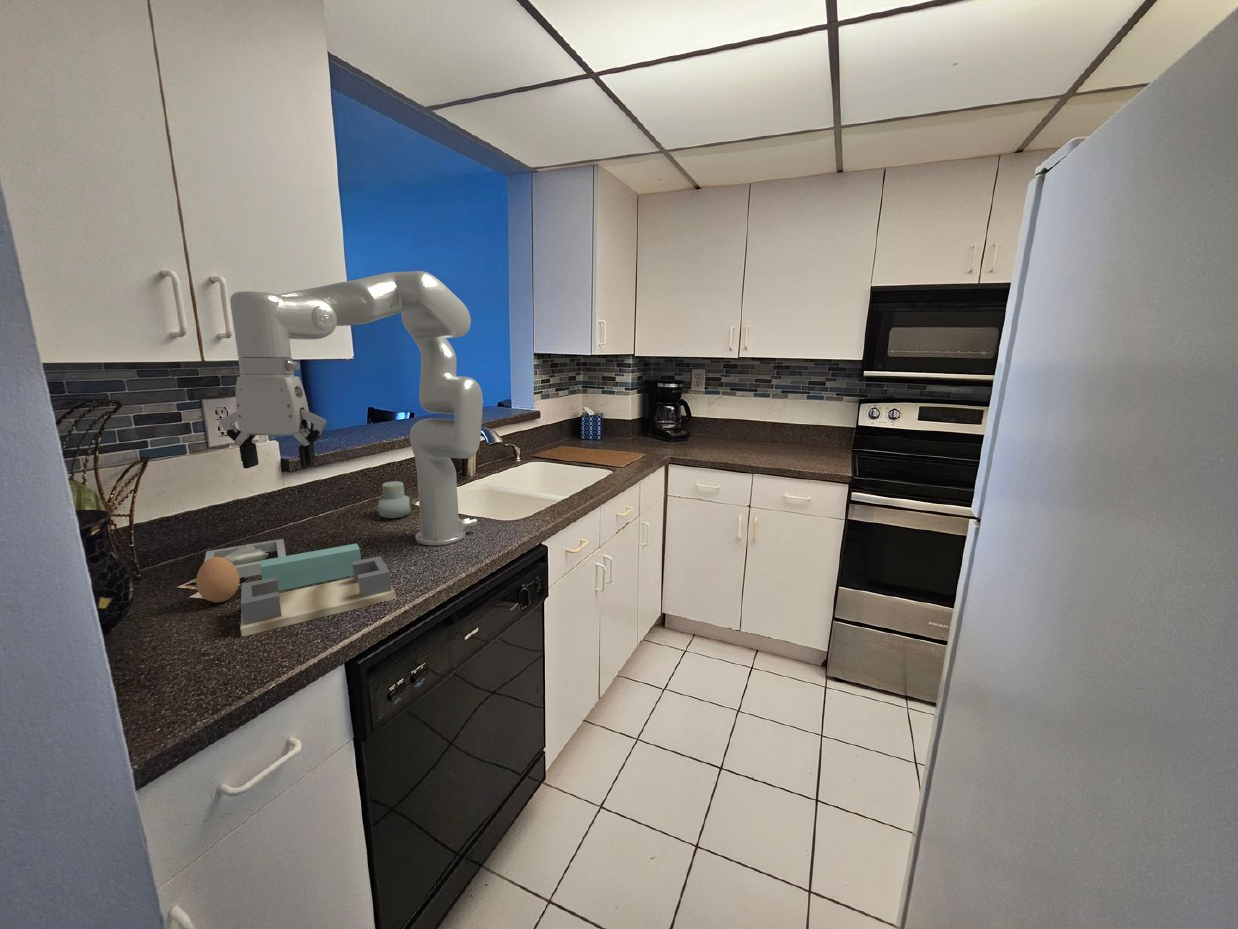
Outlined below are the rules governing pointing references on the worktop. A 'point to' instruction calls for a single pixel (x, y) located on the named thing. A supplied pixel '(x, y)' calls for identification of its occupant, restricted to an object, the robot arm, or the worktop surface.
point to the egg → (217, 579)
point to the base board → (316, 604)
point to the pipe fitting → (246, 555)
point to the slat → (311, 566)
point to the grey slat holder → (265, 600)
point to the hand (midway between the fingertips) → (279, 466)
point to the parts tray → (254, 567)
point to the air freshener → (393, 500)
